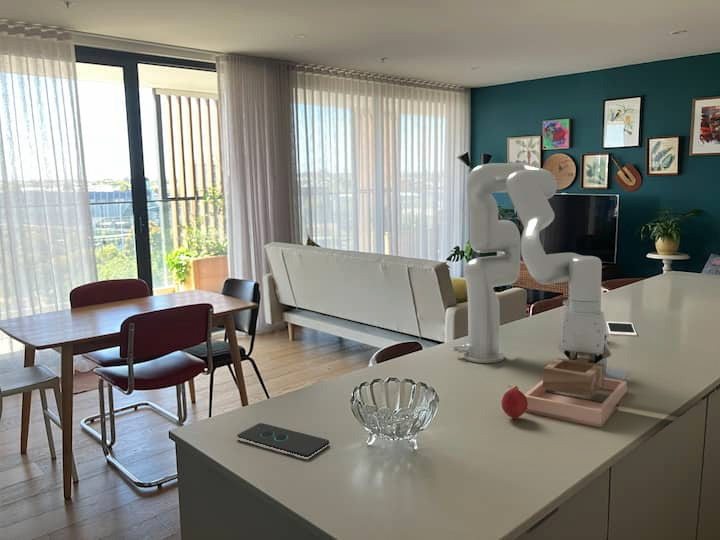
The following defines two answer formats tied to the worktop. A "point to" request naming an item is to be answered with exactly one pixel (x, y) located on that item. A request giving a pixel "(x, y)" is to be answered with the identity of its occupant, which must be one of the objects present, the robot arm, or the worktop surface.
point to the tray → (575, 404)
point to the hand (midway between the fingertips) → (583, 377)
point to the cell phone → (621, 328)
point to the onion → (514, 403)
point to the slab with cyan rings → (284, 439)
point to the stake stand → (612, 370)
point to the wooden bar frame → (574, 376)
